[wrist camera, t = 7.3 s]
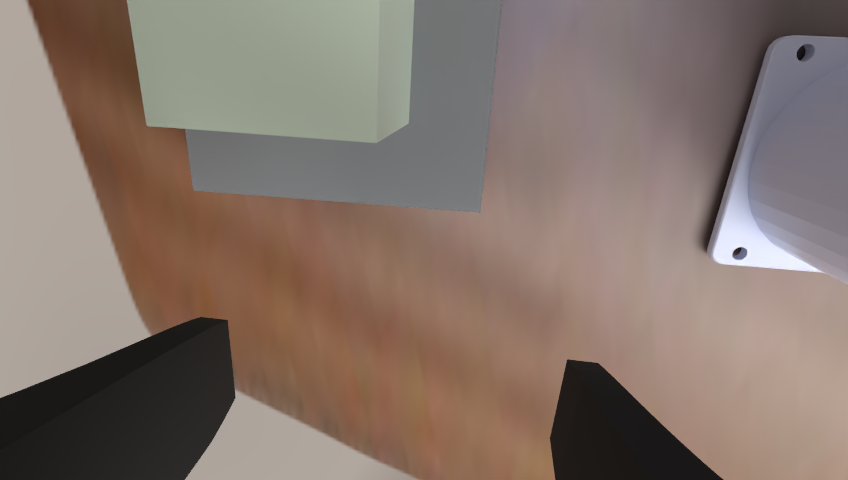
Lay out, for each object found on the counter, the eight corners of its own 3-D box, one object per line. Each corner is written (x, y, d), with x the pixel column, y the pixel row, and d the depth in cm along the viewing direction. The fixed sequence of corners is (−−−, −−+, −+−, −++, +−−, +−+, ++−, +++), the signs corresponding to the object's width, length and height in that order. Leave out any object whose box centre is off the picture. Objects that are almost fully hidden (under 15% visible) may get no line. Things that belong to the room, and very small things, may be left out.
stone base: (508, -116, 14) (518, -168, 11) (478, 191, 17) (480, 212, 14) (207, -122, 14) (144, -172, 12) (236, 174, 18) (193, 190, 15)
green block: (417, -65, 12) (383, -163, 7) (408, 123, 14) (376, 143, 9) (242, -72, 12) (99, -170, 7) (255, 112, 14) (146, 126, 9)
